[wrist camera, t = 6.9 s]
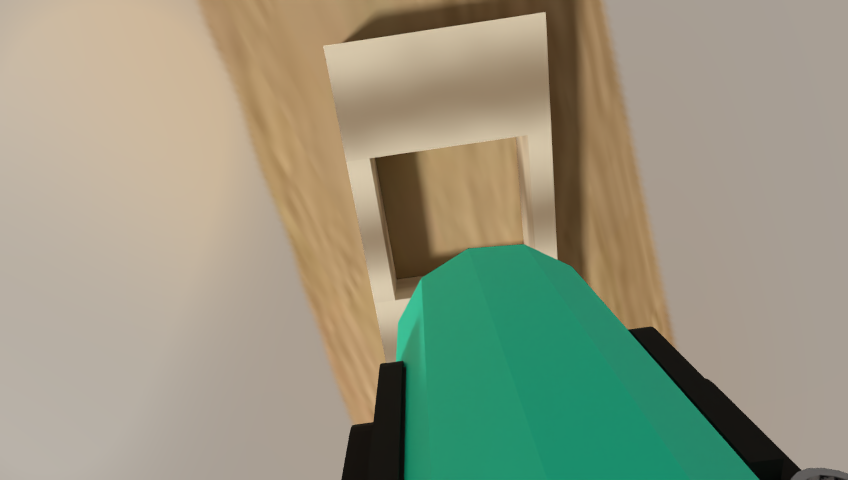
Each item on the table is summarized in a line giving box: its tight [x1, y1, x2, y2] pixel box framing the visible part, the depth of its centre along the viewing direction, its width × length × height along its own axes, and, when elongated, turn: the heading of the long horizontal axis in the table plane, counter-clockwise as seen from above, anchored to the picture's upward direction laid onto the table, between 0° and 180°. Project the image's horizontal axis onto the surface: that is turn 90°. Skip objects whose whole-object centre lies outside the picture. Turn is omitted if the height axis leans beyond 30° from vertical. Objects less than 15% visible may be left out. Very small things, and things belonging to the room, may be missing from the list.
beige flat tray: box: [323, 12, 557, 363], centre depth 27 cm, size 20×11×3 cm, turn 8°
